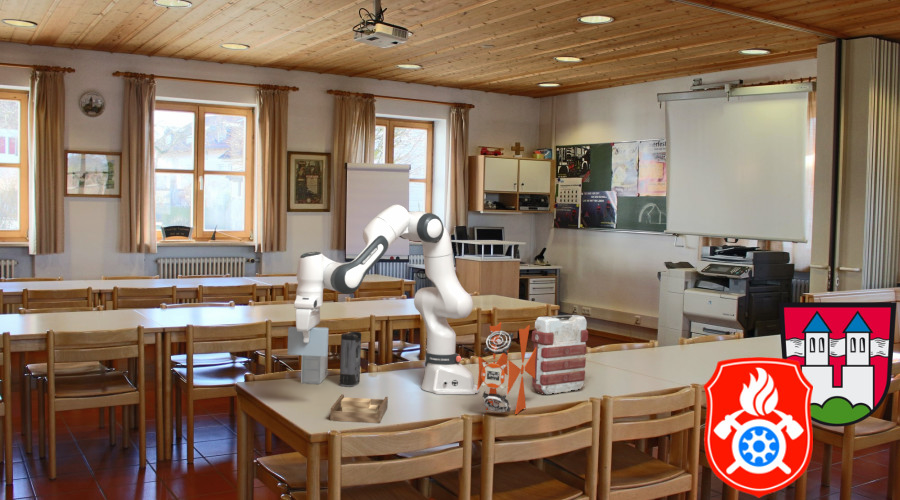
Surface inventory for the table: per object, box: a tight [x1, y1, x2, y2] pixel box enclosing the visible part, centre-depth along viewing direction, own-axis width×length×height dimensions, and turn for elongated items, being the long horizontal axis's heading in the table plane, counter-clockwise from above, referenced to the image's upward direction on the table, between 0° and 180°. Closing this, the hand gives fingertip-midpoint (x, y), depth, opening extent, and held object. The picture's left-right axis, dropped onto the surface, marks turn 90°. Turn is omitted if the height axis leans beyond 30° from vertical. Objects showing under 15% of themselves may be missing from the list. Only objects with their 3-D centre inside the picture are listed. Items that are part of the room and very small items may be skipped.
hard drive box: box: [300, 326, 329, 385], centre depth 312 cm, size 16×8×20 cm, turn 178°
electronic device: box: [339, 331, 362, 388], centre depth 307 cm, size 9×6×20 cm, turn 168°
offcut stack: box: [339, 396, 378, 413], centre depth 259 cm, size 13×5×6 cm, turn 87°
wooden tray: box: [329, 393, 389, 424], centre depth 263 cm, size 16×19×4 cm
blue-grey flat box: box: [287, 326, 330, 356], centre depth 267 cm, size 13×3×9 cm, turn 87°
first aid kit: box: [531, 314, 589, 395], centre depth 309 cm, size 23×8×30 cm, turn 126°
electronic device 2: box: [477, 321, 537, 415], centre depth 276 cm, size 11×30×30 cm, turn 156°
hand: (308, 341), depth 266 cm, fingers closed on blue-grey flat box, 3 cm apart
